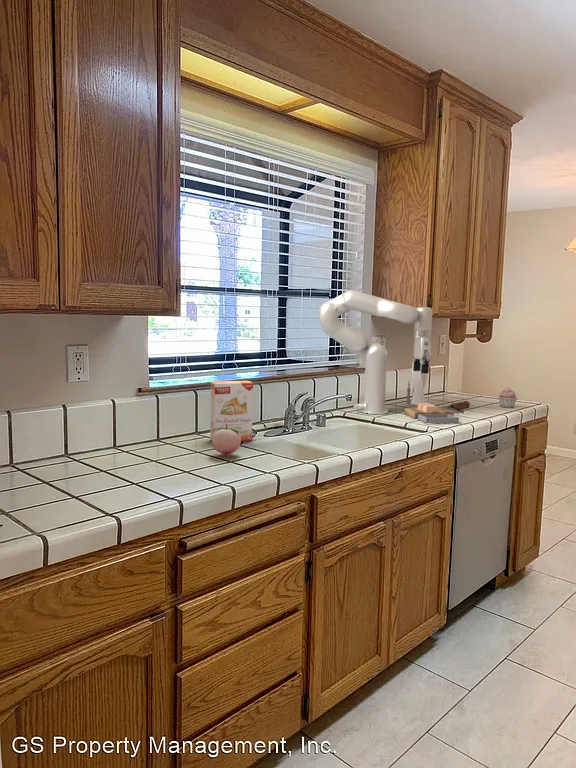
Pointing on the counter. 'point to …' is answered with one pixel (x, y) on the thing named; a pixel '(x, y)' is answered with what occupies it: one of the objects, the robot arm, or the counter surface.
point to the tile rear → (422, 405)
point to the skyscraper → (417, 387)
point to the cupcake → (507, 398)
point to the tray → (437, 418)
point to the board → (415, 411)
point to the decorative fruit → (226, 440)
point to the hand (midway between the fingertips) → (420, 372)
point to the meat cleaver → (457, 407)
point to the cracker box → (232, 407)
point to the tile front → (429, 408)
